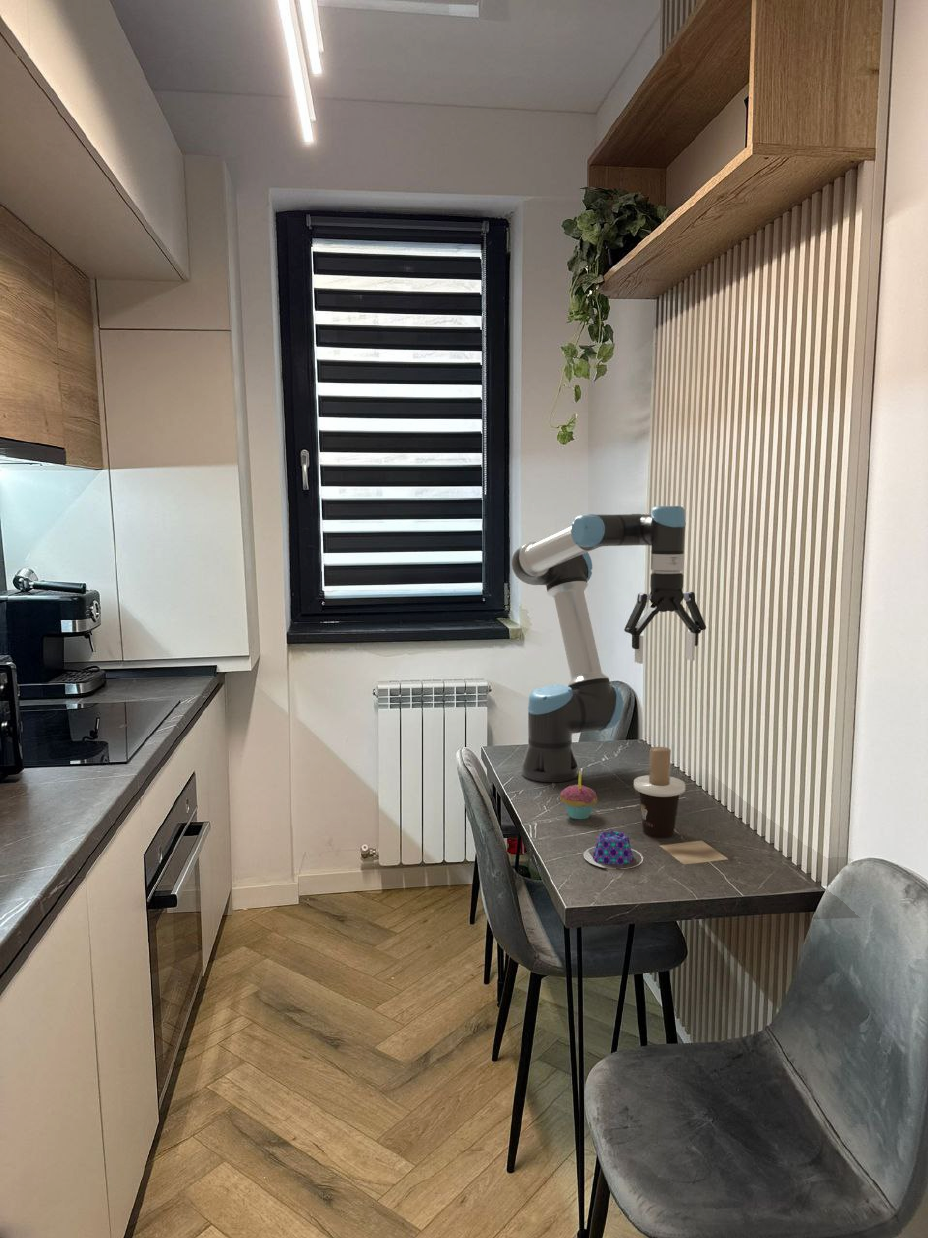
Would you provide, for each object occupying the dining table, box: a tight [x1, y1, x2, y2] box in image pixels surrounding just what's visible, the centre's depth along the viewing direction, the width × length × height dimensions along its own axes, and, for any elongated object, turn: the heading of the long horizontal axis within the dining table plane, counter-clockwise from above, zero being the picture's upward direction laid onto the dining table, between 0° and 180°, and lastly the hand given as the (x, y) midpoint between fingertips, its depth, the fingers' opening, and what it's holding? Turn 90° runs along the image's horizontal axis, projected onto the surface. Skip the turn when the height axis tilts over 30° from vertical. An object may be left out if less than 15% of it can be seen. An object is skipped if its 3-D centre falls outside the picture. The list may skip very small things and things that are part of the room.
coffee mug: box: [638, 792, 680, 839], centre depth 185 cm, size 12×9×10 cm
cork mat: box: [659, 840, 729, 866], centre depth 174 cm, size 10×10×1 cm
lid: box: [633, 746, 686, 796], centre depth 184 cm, size 11×11×9 cm
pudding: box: [583, 830, 644, 870], centre depth 172 cm, size 12×12×5 cm
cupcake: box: [559, 768, 598, 820], centre depth 195 cm, size 9×8×12 cm
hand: (664, 661), depth 200 cm, fingers open, 13 cm apart
